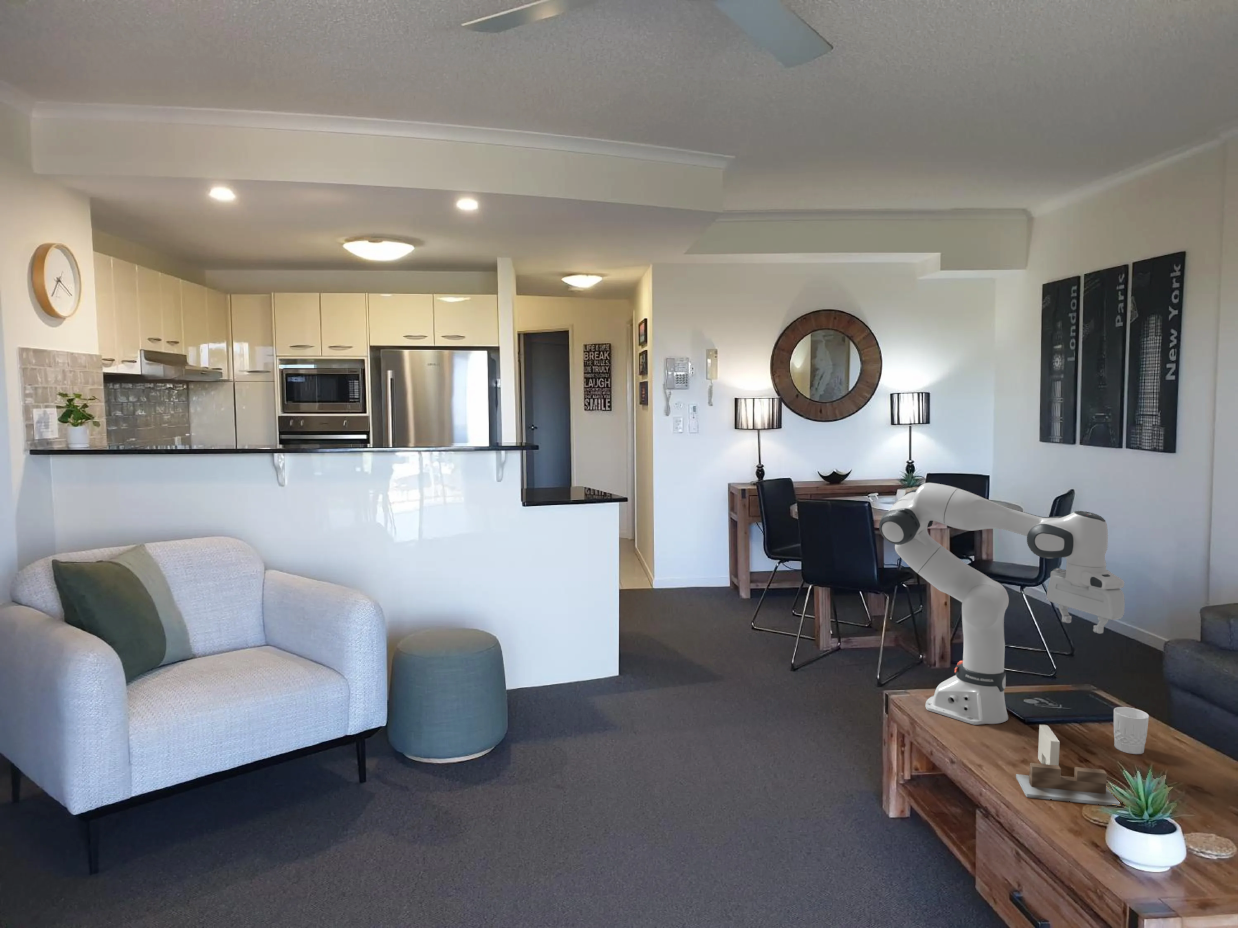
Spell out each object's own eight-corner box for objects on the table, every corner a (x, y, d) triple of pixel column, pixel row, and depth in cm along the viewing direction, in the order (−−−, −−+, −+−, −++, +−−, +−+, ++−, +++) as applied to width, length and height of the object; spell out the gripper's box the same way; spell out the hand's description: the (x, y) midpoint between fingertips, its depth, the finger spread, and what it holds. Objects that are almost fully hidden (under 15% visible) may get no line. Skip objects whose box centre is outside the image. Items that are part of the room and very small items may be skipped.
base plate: (1026, 796, 187) (1027, 773, 187) (1015, 776, 197) (1016, 754, 196) (1121, 806, 183) (1122, 782, 182) (1105, 785, 192) (1107, 762, 192)
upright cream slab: (1058, 776, 197) (1059, 741, 196) (1049, 775, 198) (1050, 740, 197) (1046, 758, 207) (1047, 725, 206) (1037, 757, 207) (1039, 724, 206)
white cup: (1152, 756, 208) (1154, 719, 207) (1118, 753, 209) (1120, 717, 208) (1139, 743, 215) (1141, 707, 215) (1106, 741, 217) (1108, 705, 216)
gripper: (1042, 567, 214) (1039, 617, 215) (1111, 584, 194) (1107, 639, 196) (1060, 565, 216) (1057, 615, 217) (1130, 582, 196) (1126, 637, 198)
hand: (1082, 627), depth 206 cm, fingers open, 8 cm apart
